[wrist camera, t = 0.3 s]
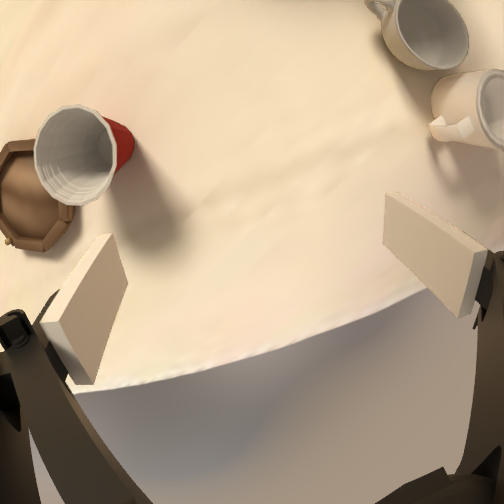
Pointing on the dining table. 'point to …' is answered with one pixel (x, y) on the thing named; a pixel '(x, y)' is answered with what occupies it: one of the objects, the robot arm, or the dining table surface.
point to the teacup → (423, 32)
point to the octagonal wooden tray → (28, 201)
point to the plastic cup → (80, 153)
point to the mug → (469, 109)
